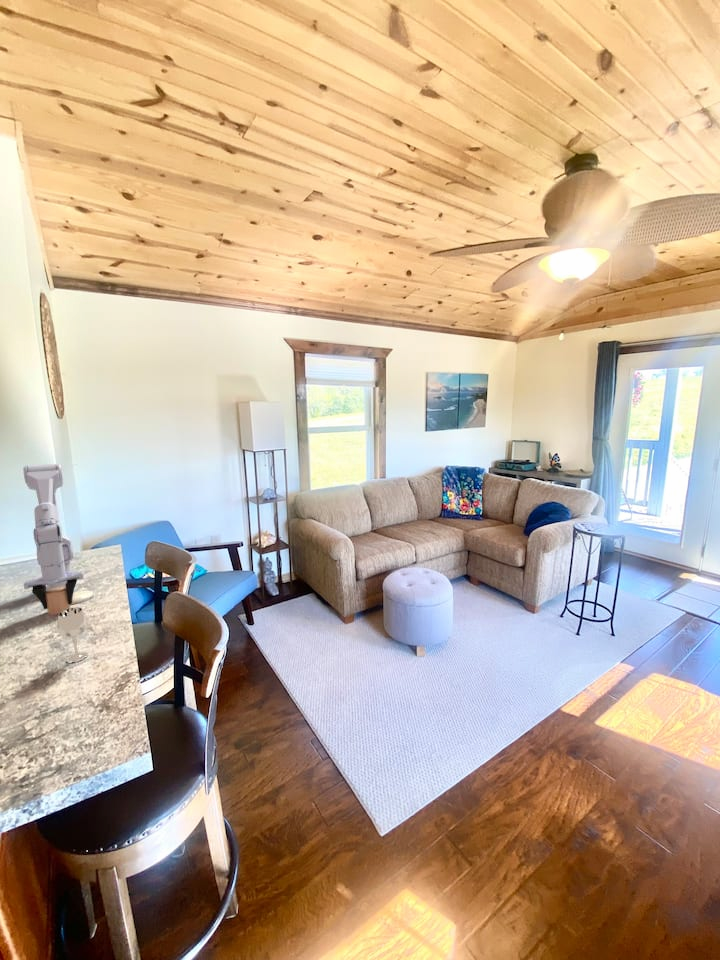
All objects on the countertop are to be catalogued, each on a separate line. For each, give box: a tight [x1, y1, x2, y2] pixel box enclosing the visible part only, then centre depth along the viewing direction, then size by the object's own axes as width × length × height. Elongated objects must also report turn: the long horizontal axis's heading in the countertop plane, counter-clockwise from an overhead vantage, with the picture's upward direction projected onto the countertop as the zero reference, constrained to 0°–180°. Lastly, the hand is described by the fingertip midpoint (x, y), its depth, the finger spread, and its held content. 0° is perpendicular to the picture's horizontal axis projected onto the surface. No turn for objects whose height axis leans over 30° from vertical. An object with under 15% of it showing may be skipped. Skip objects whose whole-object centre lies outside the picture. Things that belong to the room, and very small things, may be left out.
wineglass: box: [56, 606, 89, 661], centre depth 96 cm, size 6×6×12 cm
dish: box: [70, 590, 94, 606], centre depth 131 cm, size 9×9×1 cm
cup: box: [45, 586, 71, 616], centre depth 122 cm, size 6×6×7 cm
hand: (58, 605), depth 123 cm, fingers closed on cup, 5 cm apart
